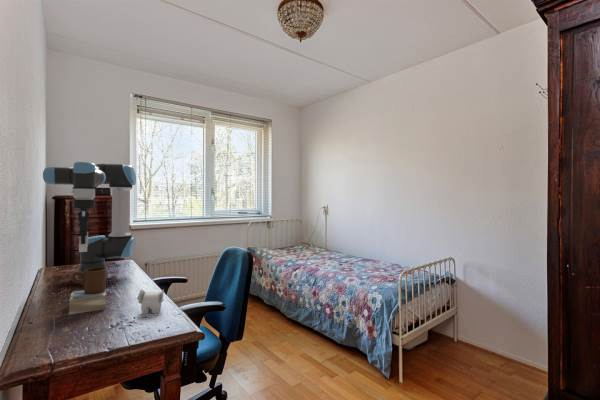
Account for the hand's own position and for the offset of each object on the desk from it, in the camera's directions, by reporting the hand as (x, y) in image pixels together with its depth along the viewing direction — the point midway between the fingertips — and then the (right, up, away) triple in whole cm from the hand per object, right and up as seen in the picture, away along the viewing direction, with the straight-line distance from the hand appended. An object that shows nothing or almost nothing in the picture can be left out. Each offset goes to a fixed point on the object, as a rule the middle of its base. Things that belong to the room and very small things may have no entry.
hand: (83, 249), depth 128 cm
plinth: (+4, -24, -2) cm, 24 cm away
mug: (+4, -18, -2) cm, 18 cm away
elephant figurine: (+31, -25, -4) cm, 40 cm away
